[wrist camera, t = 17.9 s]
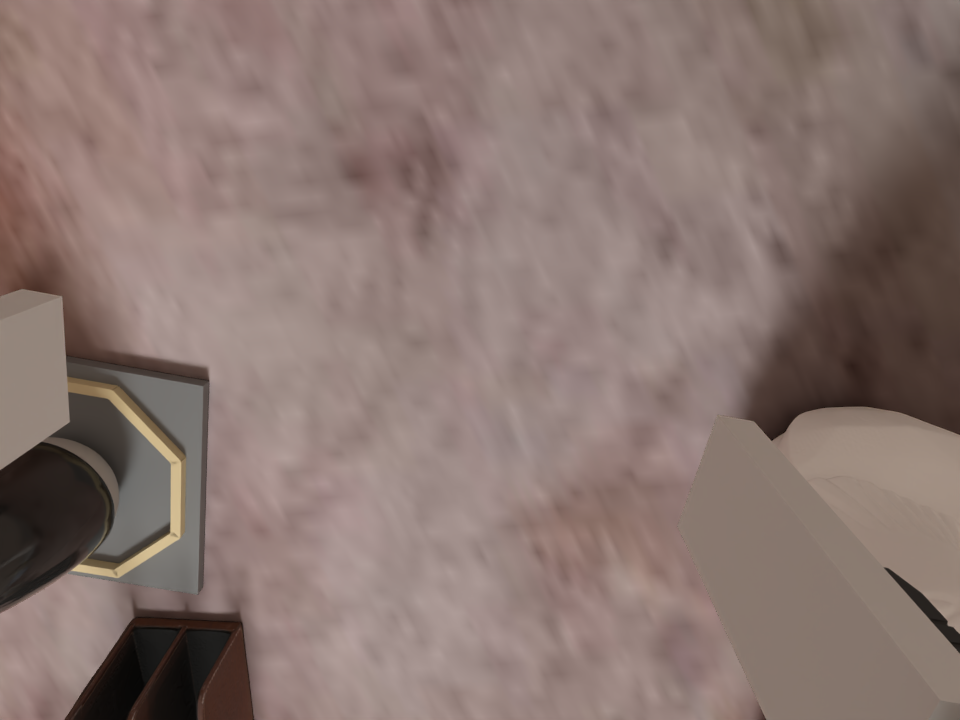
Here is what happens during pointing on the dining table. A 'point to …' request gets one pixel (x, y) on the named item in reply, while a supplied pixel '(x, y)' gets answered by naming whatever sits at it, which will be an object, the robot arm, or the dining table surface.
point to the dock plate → (145, 470)
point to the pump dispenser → (52, 515)
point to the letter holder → (170, 674)
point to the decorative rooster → (888, 490)
